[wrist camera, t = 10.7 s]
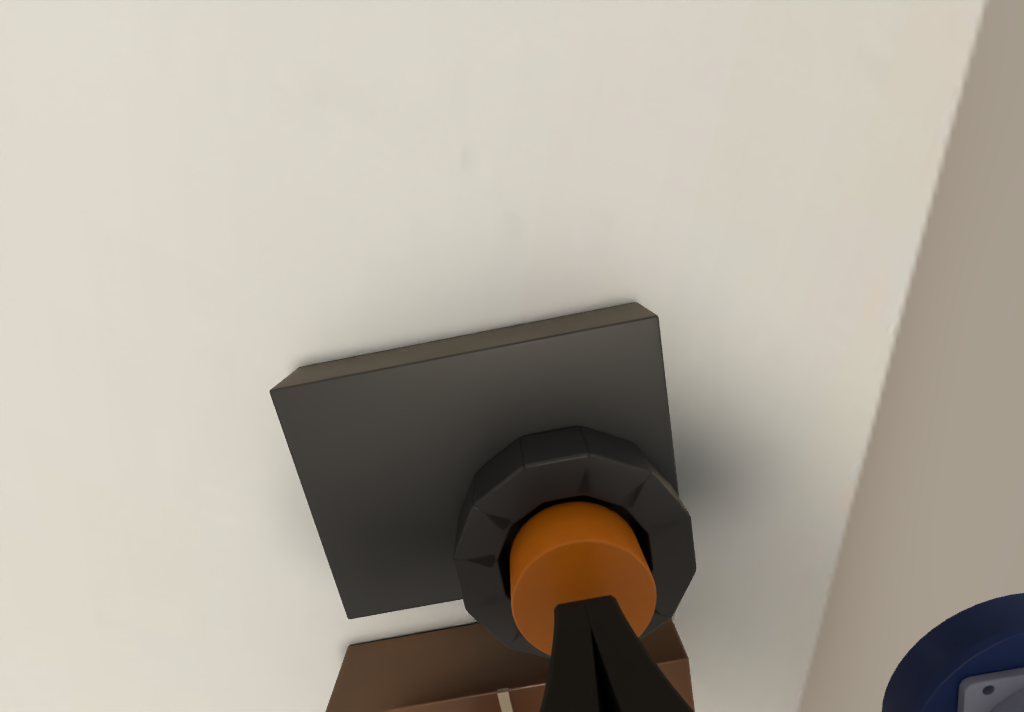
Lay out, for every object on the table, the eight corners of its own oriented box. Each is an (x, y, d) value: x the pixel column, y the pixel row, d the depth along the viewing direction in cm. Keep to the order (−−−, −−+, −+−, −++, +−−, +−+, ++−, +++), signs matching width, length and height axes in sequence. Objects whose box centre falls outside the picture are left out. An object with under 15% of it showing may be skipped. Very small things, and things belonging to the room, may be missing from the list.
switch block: (637, 301, 16) (682, 329, 12) (668, 548, 18) (713, 637, 15) (298, 367, 16) (235, 415, 12) (374, 601, 19) (341, 702, 15)
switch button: (630, 489, 14) (648, 528, 12) (645, 598, 15) (664, 649, 13) (497, 513, 14) (498, 555, 12) (522, 619, 15) (525, 672, 13)
